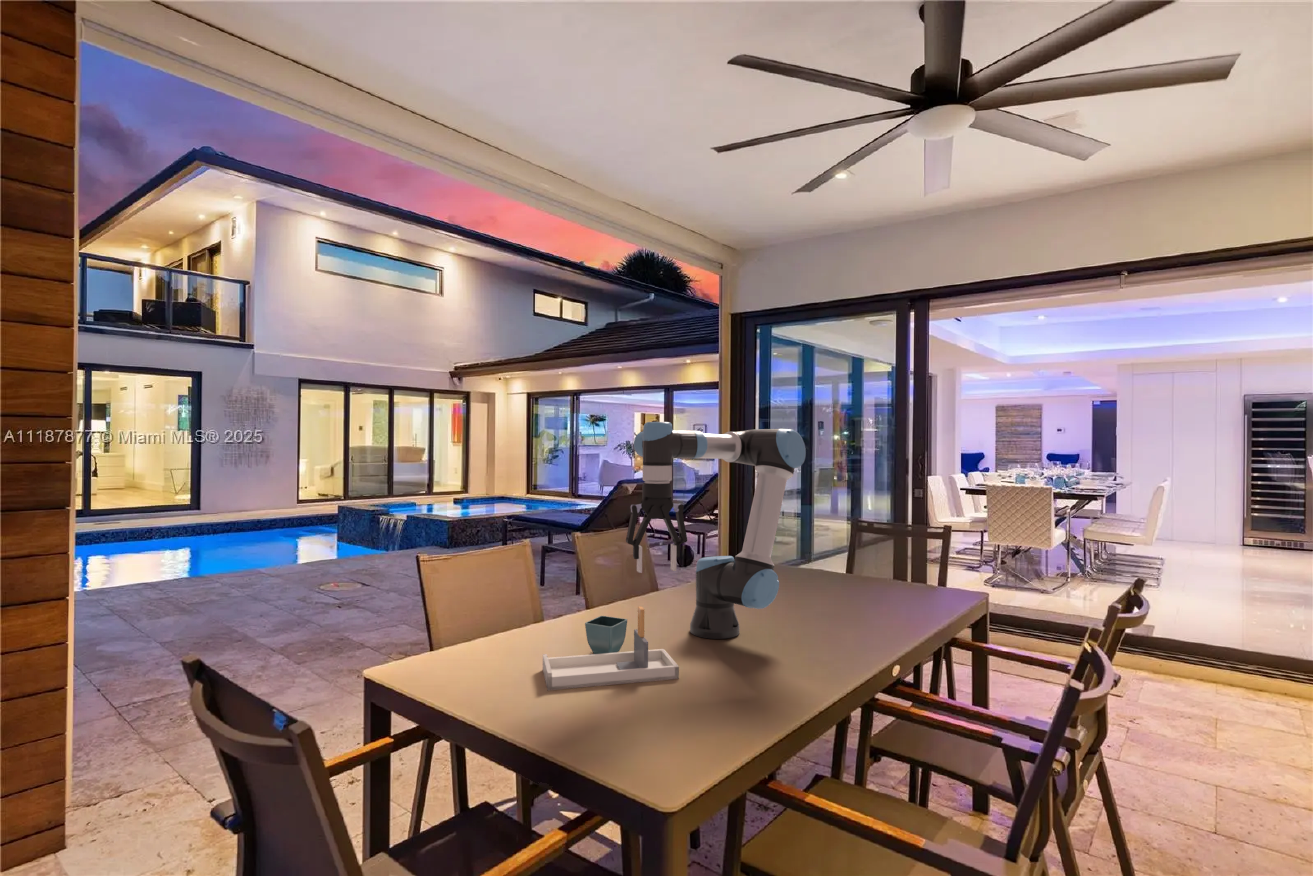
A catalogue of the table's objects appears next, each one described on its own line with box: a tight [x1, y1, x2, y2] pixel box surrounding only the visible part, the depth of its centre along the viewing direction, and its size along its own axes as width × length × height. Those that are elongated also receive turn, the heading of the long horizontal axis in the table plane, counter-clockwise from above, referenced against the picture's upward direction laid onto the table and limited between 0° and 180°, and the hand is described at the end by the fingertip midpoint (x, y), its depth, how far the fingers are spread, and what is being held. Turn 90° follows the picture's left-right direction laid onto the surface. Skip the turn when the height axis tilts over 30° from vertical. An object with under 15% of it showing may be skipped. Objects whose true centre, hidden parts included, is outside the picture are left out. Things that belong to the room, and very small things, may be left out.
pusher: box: [616, 606, 649, 670], centre depth 163 cm, size 6×11×15 cm, turn 15°
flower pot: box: [584, 615, 628, 654], centre depth 178 cm, size 9×9×9 cm
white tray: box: [542, 648, 680, 691], centre depth 161 cm, size 32×14×4 cm, turn 105°
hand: (656, 570), depth 165 cm, fingers open, 8 cm apart
